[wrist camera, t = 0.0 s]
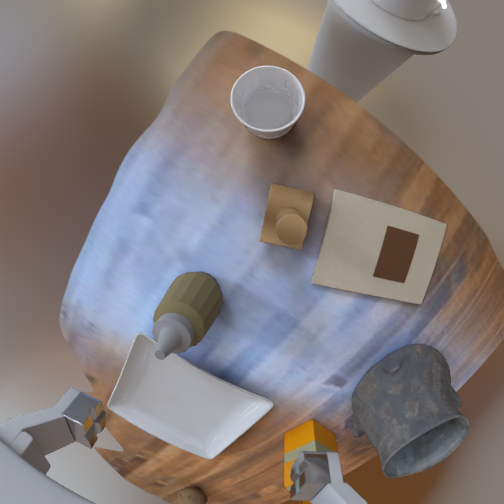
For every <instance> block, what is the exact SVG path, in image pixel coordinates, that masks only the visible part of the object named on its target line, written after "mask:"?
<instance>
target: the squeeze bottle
mask: <svg viewBox="0 0 504 504" xmlns="http://www.w3.org/2000/svg"><path fill="white" fill-rule="evenodd" d="M222 305H223V300H222V292H221V290H220V287H219V285H218V283H217V281H216V279H214V278H213V277H212V276H211V275H210V274H207V273H205V272H186V273H184V274H182V275H180V276H178V277H177V278H176V279H175V280H174V281H173V283H172V284H171V286H170V287H169V289H168V290H167V292H166V294H165V295H164V297H163V299H162V301H161V302H160V304H159V306H158V307H157V309H156V311H155V314H154V319H153V321H154V326H153V331H152V333H153V337H154V340H155V341H156V343H157V346H156V350H155V356H156V358H157V359H159V360H164V359H165V358H166V357H167V356H168V355H169V354H171V353H182V352H185V351H186V350H187V349H188V348H189V347H192V346H195V345H197V344H198V343H199V342H200V341H201V340H202V339H203V337H204V336H205V334H206V333H207V331H208V330H209V328H210V327H211V325H212V324H213V322H214V321H215V319H216V318H217V316H218V315H219V313H220V310H221V308H222Z"/></svg>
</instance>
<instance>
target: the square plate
mask: <svg viewBox="0 0 504 504" xmlns="http://www.w3.org/2000/svg"><path fill="white" fill-rule="evenodd" d="M156 346H157V343H156V341H155V340H154V339H152V338H151V337H149V336H148V335H146V334H144V333H142V332H139V333H137V335H136V336H135V338H134V341H133V343H132V345H131V348H130V351H129V353H128V356H127V359H126V361H125V364H124V367H123V369H122V372H121V374H120V377H119V379H118V382H117V384H116V386H115V389H114V391H113V393H112V395H111V397H110V399H109V402H108V405H107V407H108V408H109V409H110V410H111V411H113V412H114V413H116V414H117V415H119V416H120V417H122V418H124V419H125V420H127V421H129V422H130V423H132V424H134V425H135V426H137V427H139V428H140V429H142V430H144V431H146V432H148V433H150V434H152V435H153V436H155V437H157V438H159V439H161V440H163V441H165V442H168V443H170V444H172V445H174V446H176V447H178V448H181V449H183V450H185V451H187V452H190V453H192V454H195V455H197V456H200V457H203V458H205V459H209V460H211V459H213V458H214V457H216V456H217V455H218V454H220V453H221V452H222V451H223V450H224V449H226V448H227V447H228V446H229V445H230V444H232V443H233V442H234V441H235V440H236V439H237V438H239V437H240V436H241V435H242V434H244V433H245V432H246V431H247V430H248V429H249V428H251V427H252V426H253V425H254V424H255V423H256V422H258V421H259V420H260V419H261V418H262V417H263V416H264V415H265V414H266V413H267V412H268V411H269V410H271V409H272V407H273V406H274V403H273V402H272V401H270V400H269V399H266V398H264V397H262V396H259V395H257V394H254V393H252V392H250V391H247V390H245V389H243V388H240V387H238V386H236V385H233V384H231V383H229V382H226V381H224V380H222V379H220V378H218V377H216V376H214V375H212V374H210V373H209V372H207V371H205V370H203V369H201V368H199V367H197V366H196V365H194V364H192V363H191V362H189V361H187V360H186V359H184V358H182V357H181V356H179V355H178V354H176V353H171V354H169V355H168V356H167V357H166V358H165V359H164V360H159V359H157V358H156V356H155V350H156Z"/></svg>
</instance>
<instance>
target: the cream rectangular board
mask: <svg viewBox="0 0 504 504" xmlns="http://www.w3.org/2000/svg"><path fill="white" fill-rule="evenodd" d="M446 226H447V224H445V223H442V222H439V221H437V220H434V219H431V218H428V217H425V216H423V215H420V214H417V213H414V212H411V211H408V210H405V209H402V208H399V207H395V206H392V205H389V204H386V203H383V202H379V201H376V200H373V199H369V198H366V197H362V196H359V195H355V194H352V193H348V192H345V191H341V190H337V189H334V194H333V198H332V202H331V207H330V211H329V215H328V219H327V223H326V227H325V231H324V235H323V239H322V243H321V247H320V251H319V254H318V258H317V262H316V265H315V269H314V273H313V276H312V280H311V282H312V284H317V285H322V286H327V287H332V288H337V289H342V290H347V291H352V292H357V293H362V294H367V295H372V296H378V297H383V298H388V299H394V300H399V301H404V302H410V303H415V304H421V303H422V301H423V298H424V295H425V293H426V290H427V287H428V285H429V282H430V279H431V276H432V273H433V270H434V267H435V264H436V261H437V258H438V255H439V251H440V248H441V245H442V241H443V237H444V234H445V230H446Z"/></svg>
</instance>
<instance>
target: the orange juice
mask: <svg viewBox="0 0 504 504" xmlns="http://www.w3.org/2000/svg"><path fill="white" fill-rule="evenodd" d="M284 451H285V454H284V464H285V468H284V487H285V489H286V490H287V491H288V492H289V493H290V487H291V486H292V485H293V482H292V480H291V479H290V473H291V467H292V464H293V463H294V461H295V460H297V459H298V455H299V453H300V452H301V451H316V452H337V453H338V449H337V444H336V438H335V434H334V433H332V432H331V431H329V430H328V429H326V428H325V427H323V426H322V425H320V424H319V423H318V422H316V421H315V420H313V419H311V420H309V421H308V422H306V423H304V424H302V425H300V426H298V427H296V428H294V429H292V430H290V431H288V432H286V433H284ZM290 494H291V493H290ZM297 501H298V502H299V503H300V504H312V503H311V502H310V501H307V500H297Z"/></svg>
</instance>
